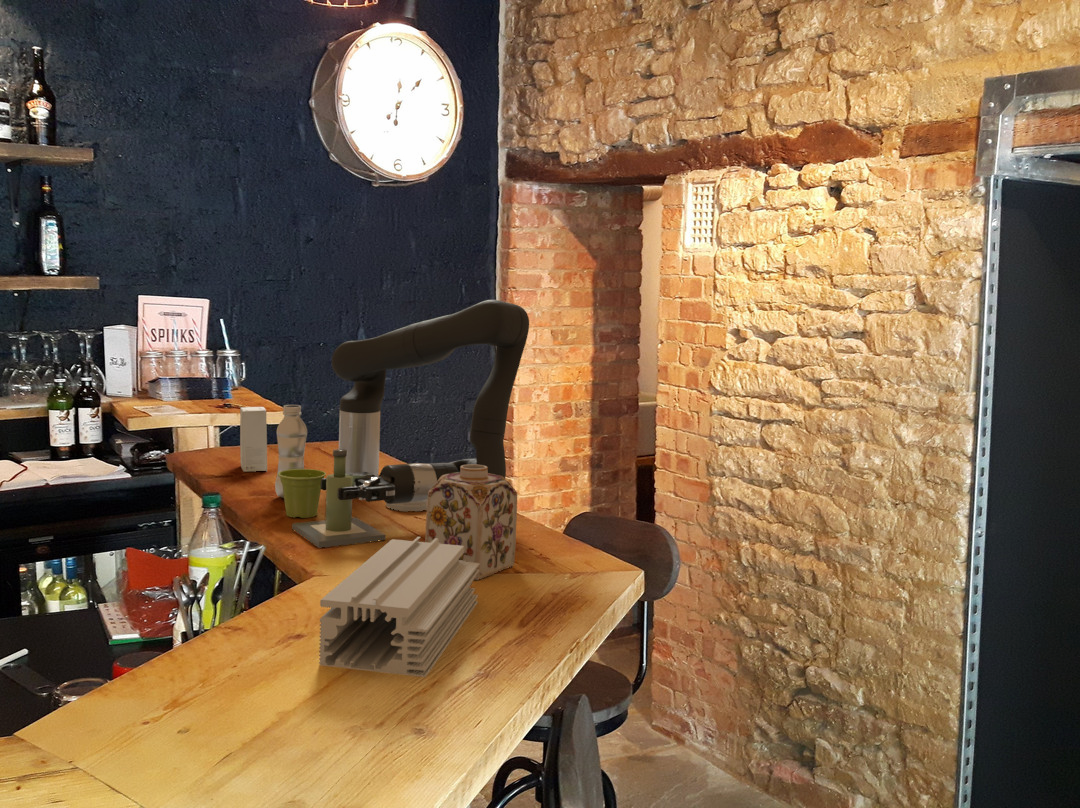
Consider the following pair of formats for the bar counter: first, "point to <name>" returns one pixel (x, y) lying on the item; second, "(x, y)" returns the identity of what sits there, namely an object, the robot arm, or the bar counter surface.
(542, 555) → the bar counter surface
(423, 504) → the mechanical component
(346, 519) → the bitters bottle
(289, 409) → the plastic bottle
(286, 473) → the plant pot
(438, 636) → the aluminum extrusion profile
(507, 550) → the decorative jar
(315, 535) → the board
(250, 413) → the skincare box
